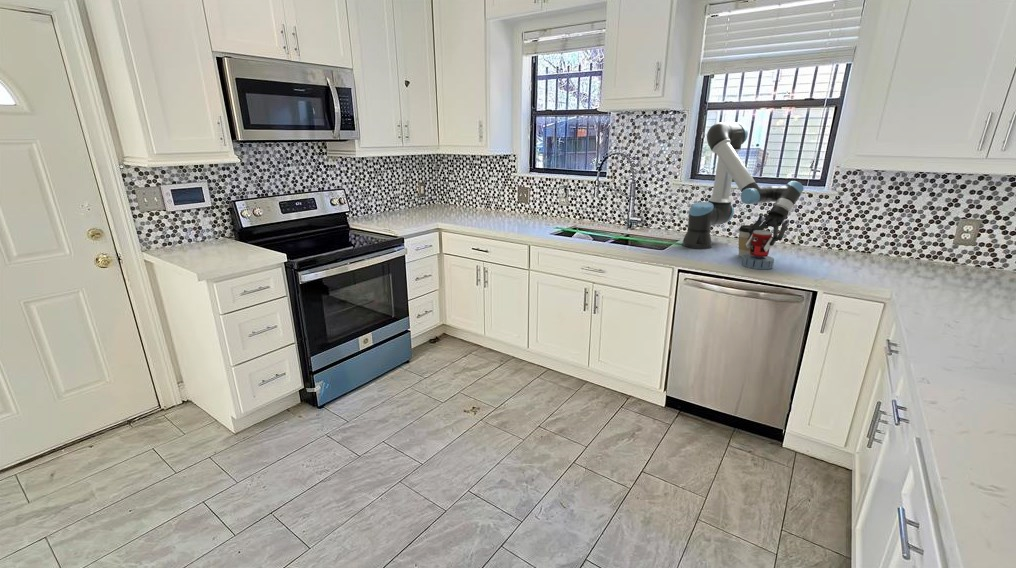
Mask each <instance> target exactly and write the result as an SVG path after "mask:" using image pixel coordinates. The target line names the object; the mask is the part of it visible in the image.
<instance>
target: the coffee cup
mask: <svg viewBox="0 0 1016 568" xmlns="http://www.w3.org/2000/svg"><path fill="white" fill-rule="evenodd" d="M752 226H753V225H750V224H744V225H740V227H739V228H738V231H739V232H738V256H739V257H742V258H743V255H746V254H750V247H751V245H750V247H749V248H747V246H746V243H747V242H748V237H749V236H750V234H749V232H748V230H749V229H750V228H751V227H752Z"/></svg>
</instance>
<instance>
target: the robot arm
mask: <svg viewBox="0 0 1016 568" xmlns="http://www.w3.org/2000/svg"><path fill="white" fill-rule="evenodd" d="M748 131H749V130H748V129H747V127H746V125H745V124H743V122H739V121H737V122H736V121H730V122H729V121H728V122H726V121H725V122H724V121H723V122H720V121H719V122H716V123H714V124H713V125H712V126H711V127H710V128H709V129H708V131H707V134H706V141H707V144H708V146H709V149H710V151H711V152H712V153H713V154H716V155H717V157H718V158H717V163H716V170H715V177H714V181H713V189H712V195H711V197H710V198H708V201H701V202H700V201H699V202H695V203H692V204H691V205H690V207H689V211H688V222H687V231H686V233H685V235H684V238H683V239H682V246H683V247H685V248H690V249H695V250H696V249H697V250H699V249H700V250H702V249H703V250H705V249H706V250H707V249H710V248H712V245H713V242H712V237H711V227H712V226H716V225H724V224H727V223H728V222H730V221H731V220H732V219H733V216H734V214H735V208H734V206H733V204H732V200H731V198H730V194H731V188H732V183H733V181H734V183H735V185H736V186H737V188H738V189H739V190H740V200H741V202H742V203H744V204H745V205H755V204H762V203H769V202H771V203H772V202H775V203H774V204H773V206H772V207H771V208H770V210H769V212H768V214H767V216H765V217H762V216H761V215H760V216H758V218H757V220H756V221H755V222H754V224H753V225H752V227H751V228H750V229H749V230H748V232H749V234H750V236H749V237H748V242H747V243H746V246H747V248H749V247H750V245H751V241H752V235H753V231H755V230H765V229H767V228H768V227H769V228H771V227H772V228H773V232H772V237H771V238H770V239H769V241H768V242H767V244H766V246H765V247H764V250H765V252H767V251H768V250H769V251H770V249H771V247H773V246H774V244H775V243H776V241H782V240H783V238H784V235H785V233H786V231H787V228H788V227H789V226H790V223H789V220H788V219H787V217H788V215H789V214H790V212H791V211H792V209H793V208H794V206H795V204H796V203H797V201H798V200H799V199H800V197H801V196H802V193H803V191H804V189H805V188H804V186H803V184H802V183H801V182H799V181H796V180H791V181H789V182H788V183H786V185H780V186H778V185H772V186H771V185H761V186H759V184H758V183H757V182H756V181H755V179H754V177H753V176H752V174H751V173H750V172H749V170H748V168H747V167H746V166H745V164H744V162H743V161H742V159H741V158H740V157H739V154H738V152H739V151H741V148H742V145H743V144H744V143H745V142H746V141H747V139H748V136H749V133H748ZM780 225H781V227H780V230H779V226H780ZM769 248H770V249H769Z"/></svg>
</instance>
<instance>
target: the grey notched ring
mask: <svg viewBox="0 0 1016 568" xmlns="http://www.w3.org/2000/svg"><path fill="white" fill-rule="evenodd" d="M774 263H775V258H774V257H772V256H770V255H768V256H766V257H759V256H753V255H751V254H746V255H743V257H742V260H741V265H742V266H743V267H745V268H747V269H752V270H753V269H754V270H767V271H768V270H771V269H773V266H774Z"/></svg>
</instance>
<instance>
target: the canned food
mask: <svg viewBox="0 0 1016 568" xmlns="http://www.w3.org/2000/svg"><path fill="white" fill-rule="evenodd" d="M771 237H772V238H773V232H772V231H769V230H765V229H763V230H755V231H753V235H752V241H751V247H750V254H751V255H753V256H759V257H766V256H769V254H770V253H769V252H770V249H771V247H770V248H769V250H768V251H767V252H765V250H764V247H765V246H766V244H767V242H768V241H769V239H770V238H771Z"/></svg>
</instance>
